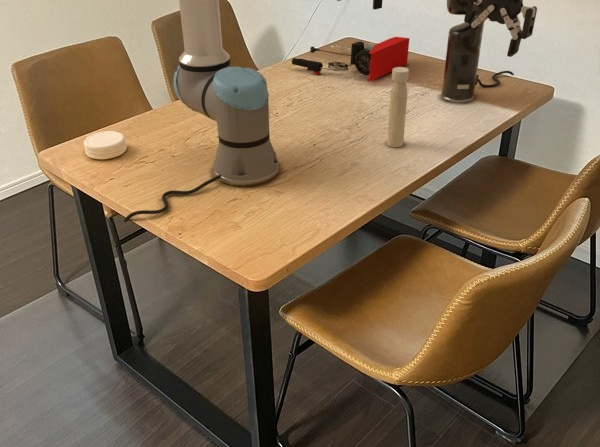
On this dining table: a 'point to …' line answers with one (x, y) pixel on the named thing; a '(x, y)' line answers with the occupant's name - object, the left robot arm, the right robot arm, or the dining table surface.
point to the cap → (400, 74)
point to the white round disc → (105, 145)
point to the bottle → (397, 114)
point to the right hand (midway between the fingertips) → (492, 50)
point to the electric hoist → (366, 58)
